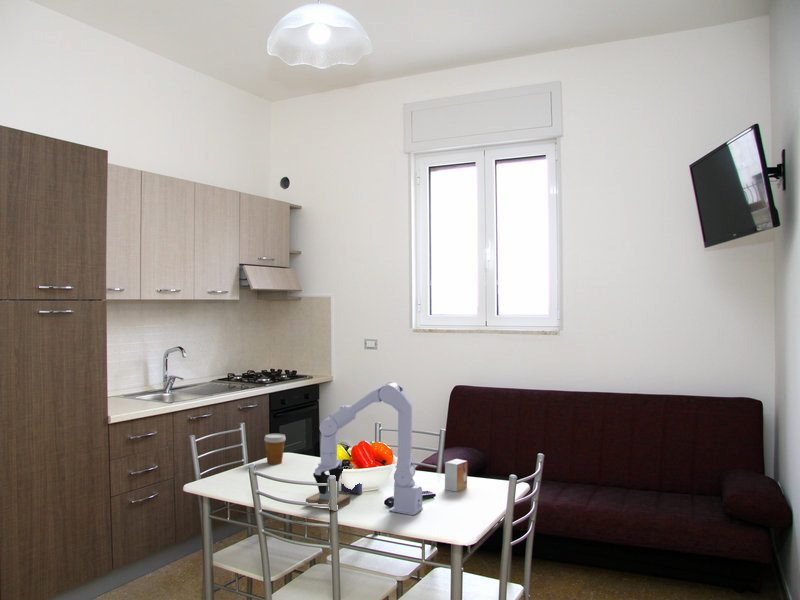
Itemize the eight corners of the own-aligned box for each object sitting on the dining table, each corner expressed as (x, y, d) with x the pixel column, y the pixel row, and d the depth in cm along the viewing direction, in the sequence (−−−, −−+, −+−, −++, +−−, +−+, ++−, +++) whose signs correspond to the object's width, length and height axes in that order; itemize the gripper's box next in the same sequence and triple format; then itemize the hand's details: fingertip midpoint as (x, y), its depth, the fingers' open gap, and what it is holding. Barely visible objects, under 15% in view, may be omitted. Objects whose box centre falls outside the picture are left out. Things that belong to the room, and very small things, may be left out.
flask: (363, 493, 230) (363, 465, 230) (358, 495, 228) (359, 466, 228) (343, 489, 235) (343, 461, 235) (338, 491, 233) (339, 463, 233)
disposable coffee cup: (285, 465, 268) (285, 437, 268) (262, 465, 266) (263, 438, 267) (286, 459, 277) (286, 433, 277) (264, 460, 276) (264, 433, 276)
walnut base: (349, 503, 219) (350, 496, 219) (335, 511, 210) (335, 504, 210) (321, 497, 224) (321, 491, 224) (305, 505, 215) (305, 498, 215)
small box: (456, 492, 234) (457, 464, 234) (444, 489, 237) (444, 462, 237) (467, 487, 240) (467, 460, 240) (455, 484, 244) (455, 458, 244)
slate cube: (338, 496, 218) (339, 482, 218) (331, 500, 214) (331, 486, 214) (326, 494, 220) (327, 480, 220) (319, 498, 216) (319, 484, 216)
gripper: (330, 446, 226) (329, 483, 225) (307, 455, 212) (307, 494, 212) (347, 448, 222) (346, 486, 222) (325, 457, 209) (324, 497, 209)
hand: (328, 490), depth 217 cm, fingers open, 7 cm apart
